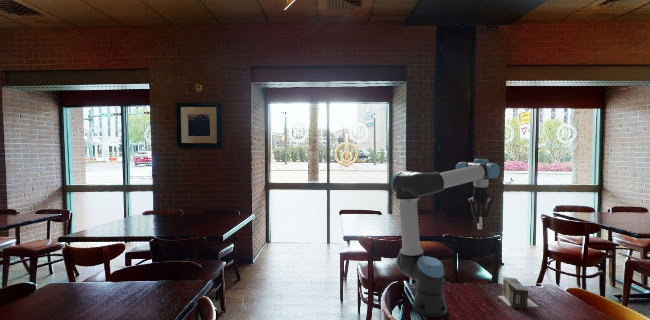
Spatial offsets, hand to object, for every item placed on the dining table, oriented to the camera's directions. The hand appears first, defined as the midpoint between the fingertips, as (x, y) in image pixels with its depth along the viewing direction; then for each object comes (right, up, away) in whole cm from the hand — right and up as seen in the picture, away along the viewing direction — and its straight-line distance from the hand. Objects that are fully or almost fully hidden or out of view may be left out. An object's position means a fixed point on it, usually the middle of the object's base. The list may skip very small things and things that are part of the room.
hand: (479, 228), depth 181 cm
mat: (+11, -33, -18) cm, 39 cm away
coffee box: (+11, -28, -10) cm, 31 cm away
